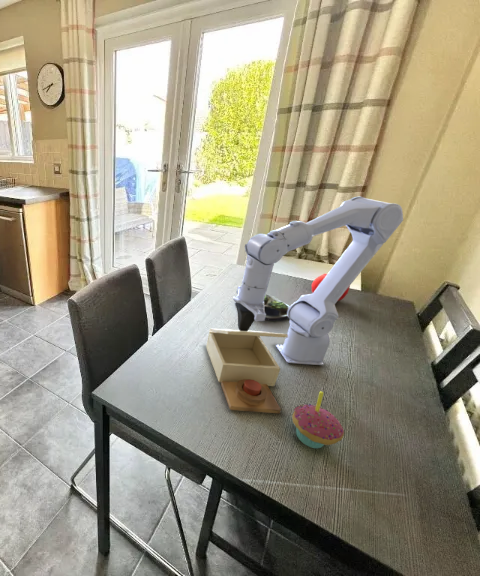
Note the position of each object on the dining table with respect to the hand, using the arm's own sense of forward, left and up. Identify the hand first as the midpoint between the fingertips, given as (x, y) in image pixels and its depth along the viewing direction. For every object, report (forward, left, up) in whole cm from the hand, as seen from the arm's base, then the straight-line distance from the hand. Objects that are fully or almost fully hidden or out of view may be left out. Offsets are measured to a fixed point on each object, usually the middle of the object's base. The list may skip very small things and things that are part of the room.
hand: (242, 329), depth 81 cm
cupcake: (-8, +24, -11) cm, 28 cm away
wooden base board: (+1, +14, -10) cm, 18 cm away
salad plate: (-19, -30, -10) cm, 37 cm away
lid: (0, +2, 0) cm, 2 cm away
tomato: (-46, -41, -5) cm, 62 cm away
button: (+1, +14, -8) cm, 16 cm away
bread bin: (0, +2, -10) cm, 11 cm away
